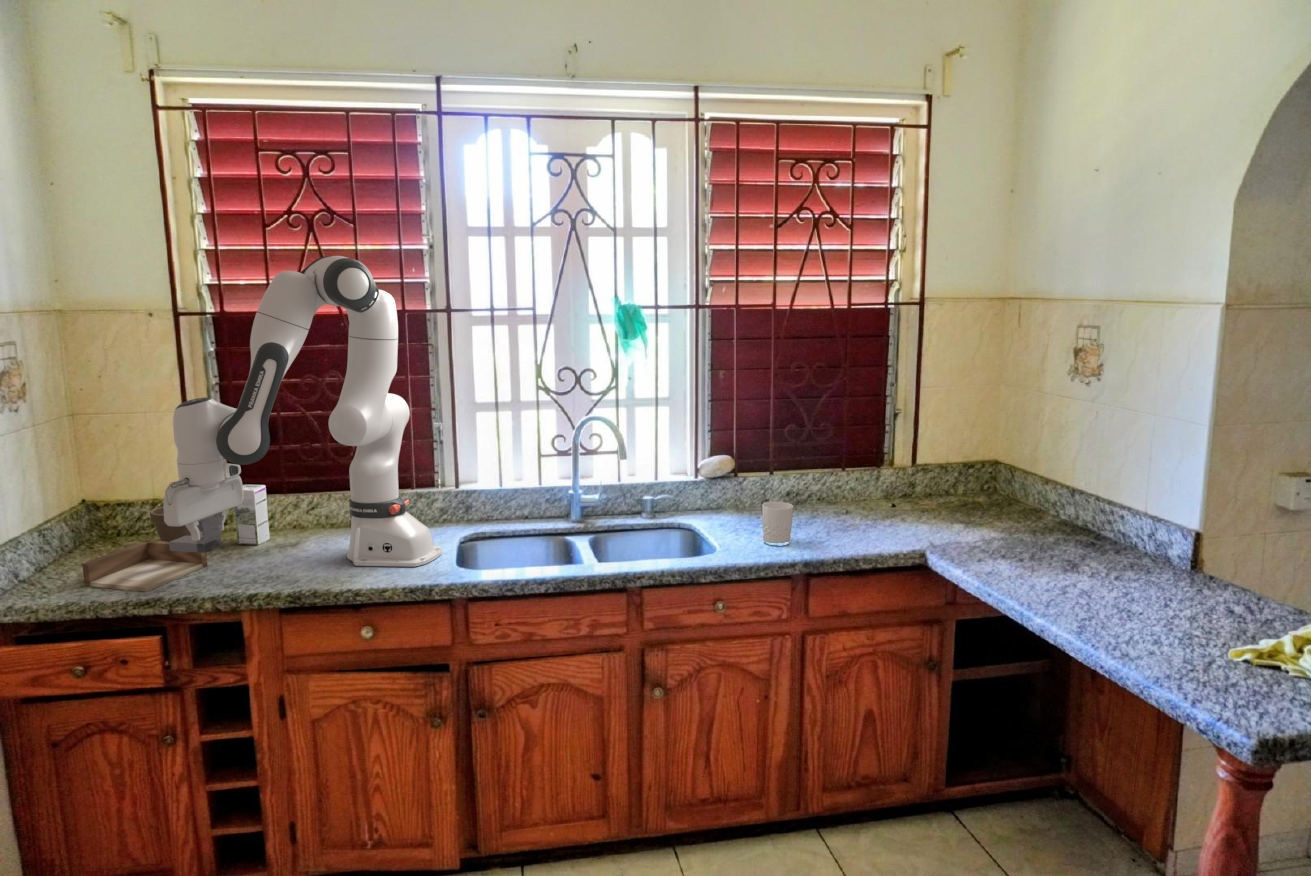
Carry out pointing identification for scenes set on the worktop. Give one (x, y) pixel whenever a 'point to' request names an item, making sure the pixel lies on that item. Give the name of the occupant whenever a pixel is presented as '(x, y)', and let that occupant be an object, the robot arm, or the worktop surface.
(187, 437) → the robot arm
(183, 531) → the flower pot
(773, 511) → the white cup
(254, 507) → the syrup box
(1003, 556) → the worktop surface
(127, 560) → the corner arena
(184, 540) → the angle bracket
